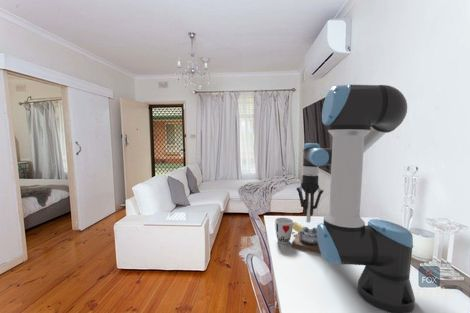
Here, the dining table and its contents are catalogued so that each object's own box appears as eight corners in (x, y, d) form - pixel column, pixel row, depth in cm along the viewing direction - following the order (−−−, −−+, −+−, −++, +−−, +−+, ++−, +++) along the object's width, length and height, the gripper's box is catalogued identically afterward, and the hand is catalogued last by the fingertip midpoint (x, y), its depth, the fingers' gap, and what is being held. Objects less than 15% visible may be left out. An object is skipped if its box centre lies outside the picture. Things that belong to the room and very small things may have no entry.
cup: (272, 242, 111) (272, 221, 110) (277, 236, 118) (278, 216, 117) (289, 246, 108) (290, 225, 107) (294, 239, 115) (294, 219, 114)
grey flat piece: (329, 243, 107) (329, 234, 106) (308, 247, 103) (309, 237, 102) (302, 227, 125) (303, 219, 124) (284, 229, 121) (284, 221, 121)
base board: (324, 255, 101) (325, 250, 100) (291, 247, 107) (291, 242, 107) (329, 241, 113) (329, 237, 113) (299, 235, 119) (299, 231, 119)
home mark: (294, 232, 123) (294, 232, 123) (291, 233, 122) (291, 232, 122) (289, 229, 127) (289, 229, 126) (287, 230, 126) (287, 229, 126)
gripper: (325, 174, 119) (323, 221, 120) (298, 172, 125) (297, 217, 126) (323, 176, 112) (321, 226, 114) (295, 174, 118) (293, 221, 120)
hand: (308, 221), depth 120 cm, fingers closed
